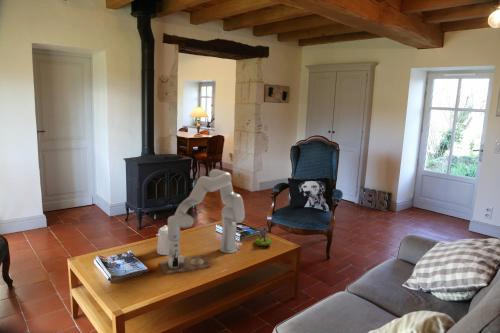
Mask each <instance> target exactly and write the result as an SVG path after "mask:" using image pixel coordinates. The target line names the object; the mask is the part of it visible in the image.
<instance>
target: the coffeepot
mask: <svg viewBox="0 0 500 333" xmlns="http://www.w3.org/2000/svg"><path fill="white" fill-rule="evenodd" d="M157 232H158V233H156V234H155V235H156V237H157V246H156V253H157V254H158V255H160V256H167V255H169V253H170V252H169V240H168V224H167V225H166V224H165V225H163V226H162V227H160V228H159V229H158V231H157Z"/></svg>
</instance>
